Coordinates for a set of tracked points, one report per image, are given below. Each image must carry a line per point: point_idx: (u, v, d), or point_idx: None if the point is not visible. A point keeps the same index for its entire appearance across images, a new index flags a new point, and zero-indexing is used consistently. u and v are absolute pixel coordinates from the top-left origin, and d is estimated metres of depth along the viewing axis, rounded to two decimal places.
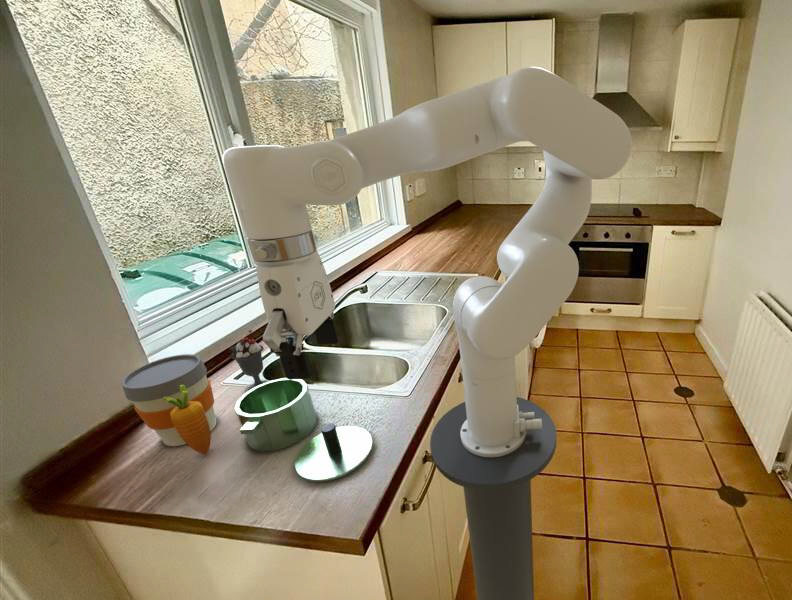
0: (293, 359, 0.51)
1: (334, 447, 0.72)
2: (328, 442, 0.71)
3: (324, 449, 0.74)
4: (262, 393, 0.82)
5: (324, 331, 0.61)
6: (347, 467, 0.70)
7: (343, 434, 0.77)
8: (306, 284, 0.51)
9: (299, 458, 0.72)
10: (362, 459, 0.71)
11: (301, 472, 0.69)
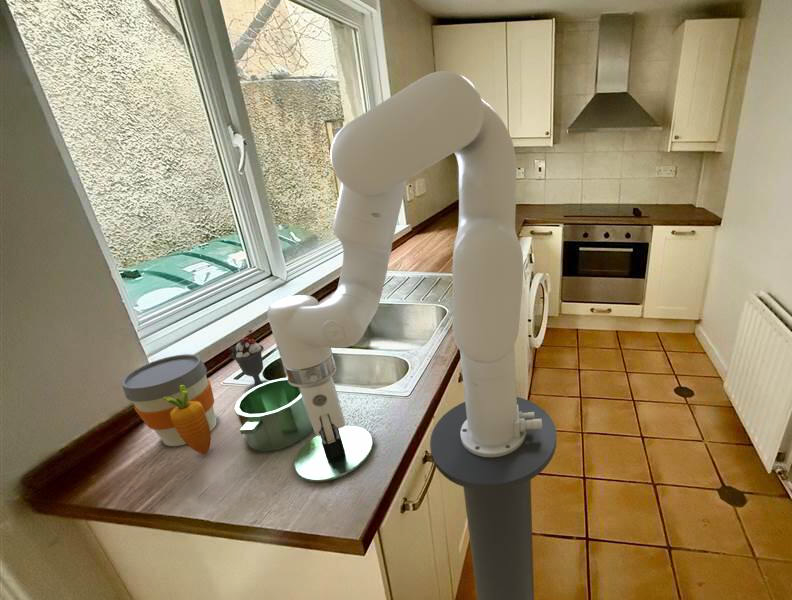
0: (335, 442, 0.70)
1: None
2: None
3: None
4: (262, 393, 0.82)
5: None
6: (347, 467, 0.70)
7: (343, 434, 0.77)
8: (335, 390, 0.68)
9: (299, 458, 0.72)
10: (362, 459, 0.71)
11: (301, 472, 0.69)
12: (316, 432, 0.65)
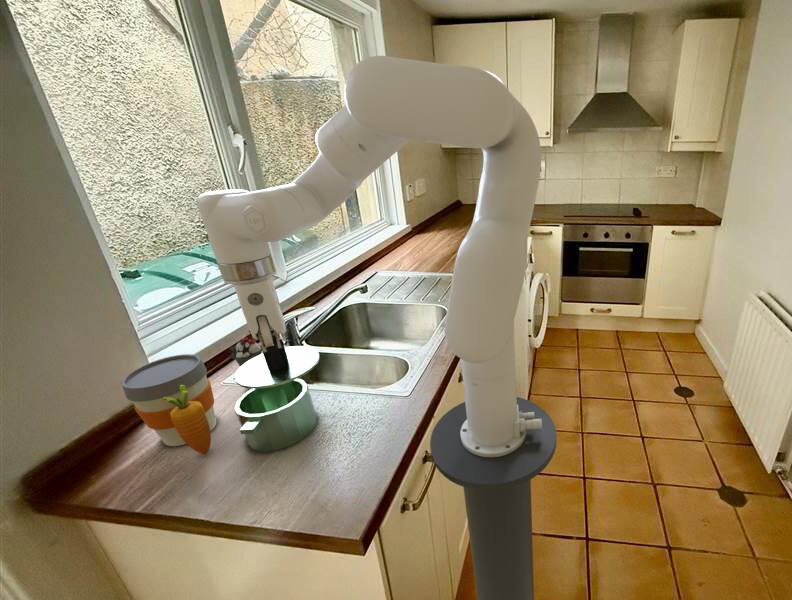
0: (277, 352, 0.68)
1: None
2: None
3: None
4: (262, 393, 0.82)
5: None
6: (288, 377, 0.67)
7: (290, 352, 0.75)
8: (275, 294, 0.65)
9: (240, 370, 0.70)
10: (305, 370, 0.69)
11: (240, 381, 0.67)
12: (253, 334, 0.63)
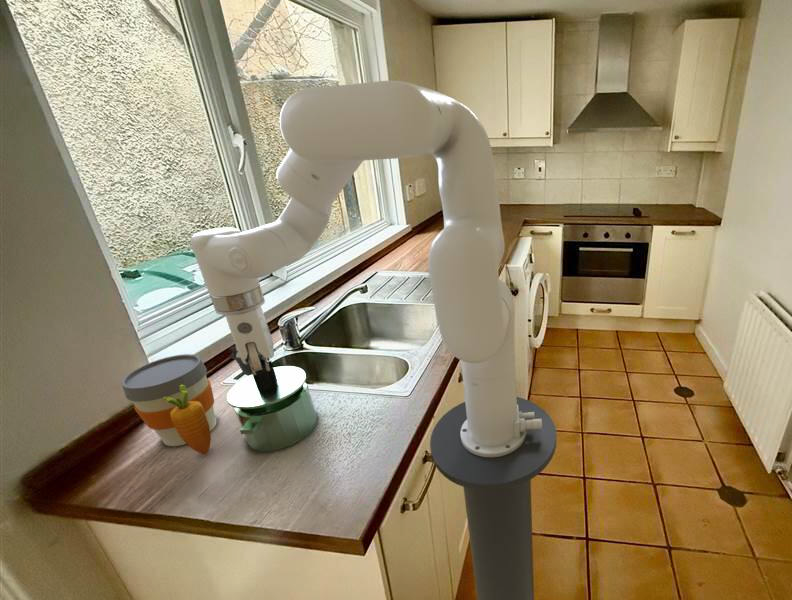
0: (266, 375, 0.74)
1: None
2: None
3: None
4: None
5: None
6: (276, 397, 0.73)
7: (279, 372, 0.81)
8: (264, 322, 0.71)
9: (232, 391, 0.75)
10: (292, 391, 0.74)
11: (231, 401, 0.72)
12: (243, 360, 0.69)
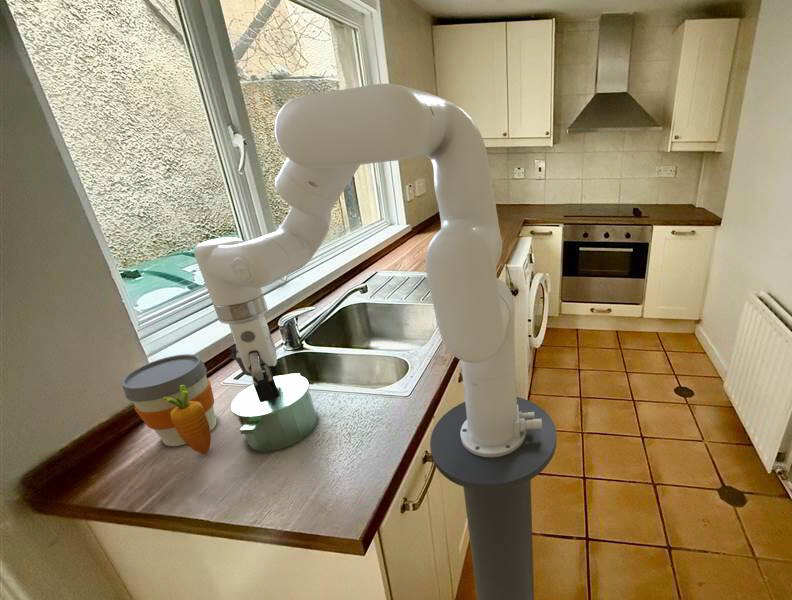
0: (267, 385, 0.71)
1: None
2: None
3: None
4: None
5: None
6: (279, 406, 0.74)
7: (282, 381, 0.82)
8: (266, 330, 0.72)
9: (236, 400, 0.76)
10: (295, 400, 0.75)
11: (235, 410, 0.73)
12: (246, 368, 0.69)
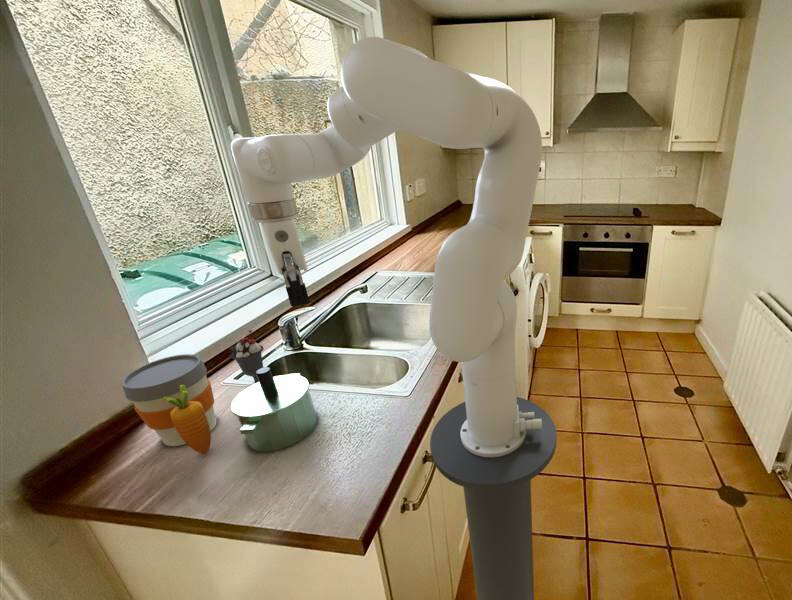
0: (299, 288, 0.72)
1: (269, 389, 0.76)
2: (263, 384, 0.75)
3: (261, 393, 0.78)
4: None
5: None
6: (279, 406, 0.74)
7: (282, 381, 0.82)
8: (298, 235, 0.73)
9: (236, 400, 0.76)
10: (295, 400, 0.75)
11: (235, 410, 0.73)
12: (279, 269, 0.71)
